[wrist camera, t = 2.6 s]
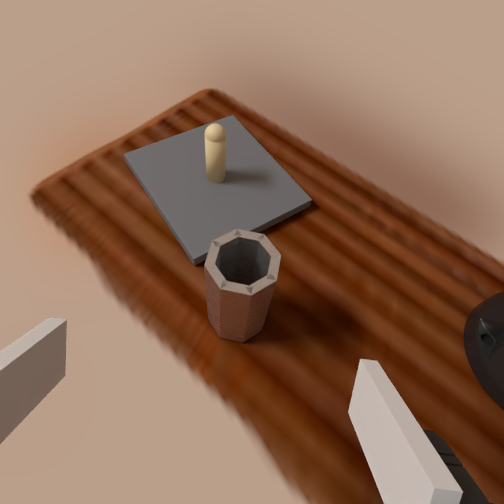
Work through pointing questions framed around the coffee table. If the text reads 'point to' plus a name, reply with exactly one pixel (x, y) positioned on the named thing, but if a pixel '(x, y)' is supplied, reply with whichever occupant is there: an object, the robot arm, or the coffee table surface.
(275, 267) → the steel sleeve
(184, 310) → the coffee table surface
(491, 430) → the coffee table surface
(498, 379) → the robot arm
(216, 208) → the post plate
